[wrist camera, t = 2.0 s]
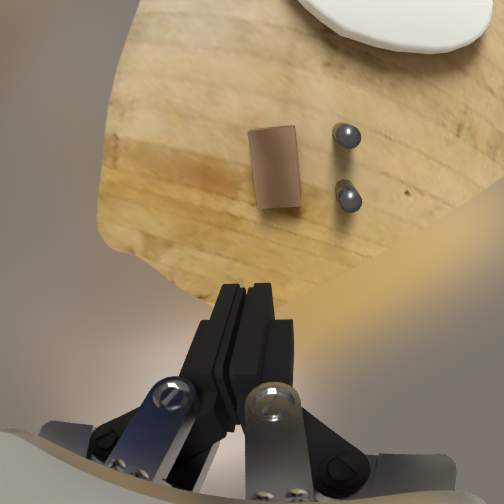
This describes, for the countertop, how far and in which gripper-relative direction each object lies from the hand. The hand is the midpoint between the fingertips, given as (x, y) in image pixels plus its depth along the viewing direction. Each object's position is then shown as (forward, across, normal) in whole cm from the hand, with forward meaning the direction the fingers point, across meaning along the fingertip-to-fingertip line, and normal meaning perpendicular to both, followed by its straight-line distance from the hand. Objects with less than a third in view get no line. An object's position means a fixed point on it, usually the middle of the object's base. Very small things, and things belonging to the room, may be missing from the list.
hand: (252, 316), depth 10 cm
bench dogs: (+26, -8, 0) cm, 27 cm away
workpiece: (+27, 0, 0) cm, 27 cm away
